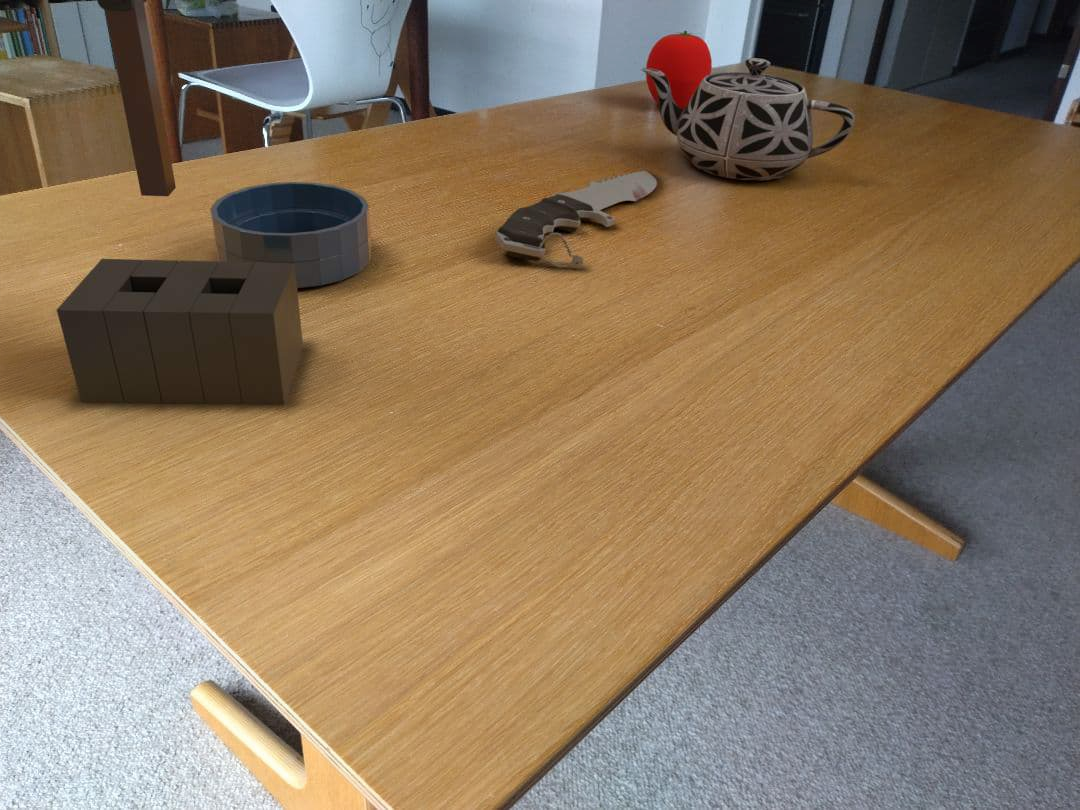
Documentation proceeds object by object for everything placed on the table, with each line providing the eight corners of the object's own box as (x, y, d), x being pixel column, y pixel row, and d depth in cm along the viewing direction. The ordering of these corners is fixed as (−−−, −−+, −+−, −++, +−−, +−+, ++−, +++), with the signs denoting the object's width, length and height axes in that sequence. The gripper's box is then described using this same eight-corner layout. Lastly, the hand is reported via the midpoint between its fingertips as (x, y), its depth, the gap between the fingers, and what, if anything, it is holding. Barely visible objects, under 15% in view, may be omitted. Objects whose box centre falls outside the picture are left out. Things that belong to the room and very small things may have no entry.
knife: (590, 168, 123) (592, 138, 121) (662, 180, 120) (666, 150, 118) (483, 260, 94) (483, 223, 92) (574, 279, 91) (577, 241, 89)
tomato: (670, 119, 149) (680, 39, 142) (630, 104, 156) (638, 27, 149) (718, 113, 154) (731, 35, 147) (678, 98, 162) (688, 24, 155)
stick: (141, 195, 66) (87, -77, 56) (149, 187, 67) (99, -79, 58) (168, 196, 66) (119, -75, 56) (176, 187, 68) (130, -78, 58)
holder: (81, 403, 67) (55, 309, 63) (121, 345, 75) (101, 258, 70) (284, 406, 68) (273, 313, 64) (303, 348, 76) (294, 262, 72)
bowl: (202, 292, 84) (192, 232, 81) (238, 232, 97) (230, 179, 94) (363, 295, 85) (359, 237, 82) (377, 236, 98) (374, 184, 95)
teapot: (649, 135, 140) (661, 34, 132) (846, 167, 131) (872, 61, 123) (611, 166, 125) (622, 55, 117) (831, 205, 116) (859, 87, 108)
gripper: (47, -308, 56) (104, -11, 65) (-68, -348, 44) (22, 21, 54) (167, -299, 57) (207, -5, 66) (86, -336, 45) (148, 27, 54)
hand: (124, 5), depth 60 cm, fingers closed on stick, 2 cm apart
